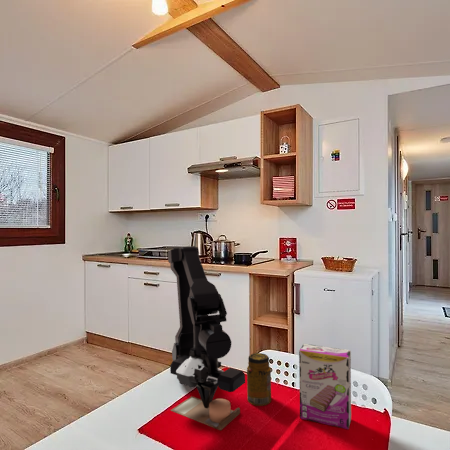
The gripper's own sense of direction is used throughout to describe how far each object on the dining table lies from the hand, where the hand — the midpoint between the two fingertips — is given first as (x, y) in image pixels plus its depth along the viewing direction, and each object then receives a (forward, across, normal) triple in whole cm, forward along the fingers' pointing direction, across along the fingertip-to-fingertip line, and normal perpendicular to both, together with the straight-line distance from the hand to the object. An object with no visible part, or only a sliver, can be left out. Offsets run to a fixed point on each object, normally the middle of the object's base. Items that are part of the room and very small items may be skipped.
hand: (207, 407), depth 83 cm
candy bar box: (+2, +24, +14) cm, 28 cm away
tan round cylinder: (+1, +4, 0) cm, 4 cm away
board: (+2, -1, 0) cm, 2 cm away
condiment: (+2, +8, +12) cm, 14 cm away
